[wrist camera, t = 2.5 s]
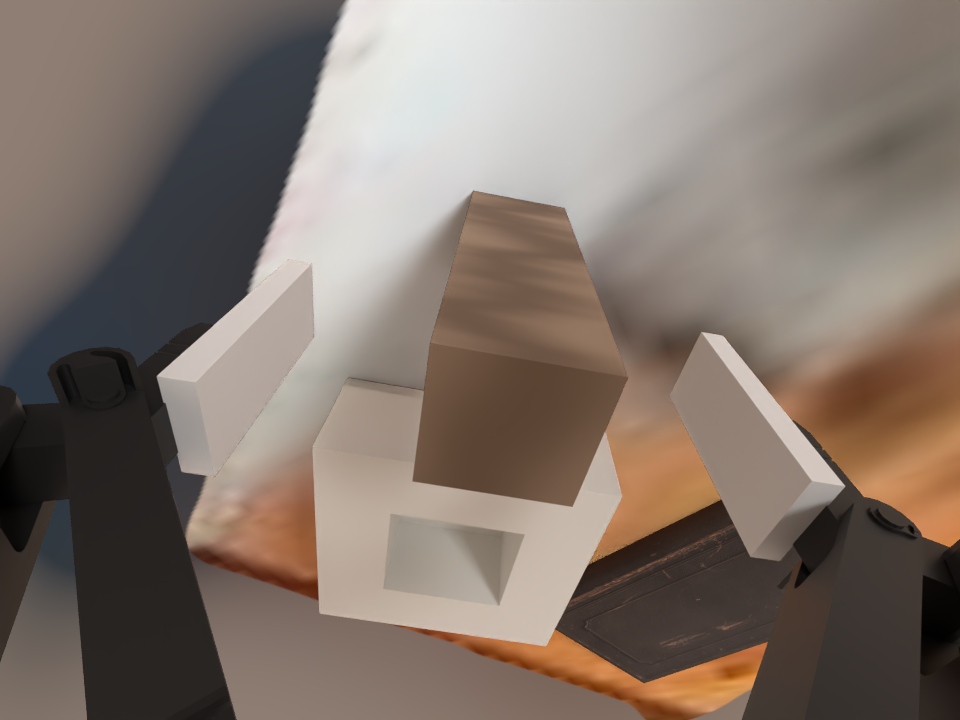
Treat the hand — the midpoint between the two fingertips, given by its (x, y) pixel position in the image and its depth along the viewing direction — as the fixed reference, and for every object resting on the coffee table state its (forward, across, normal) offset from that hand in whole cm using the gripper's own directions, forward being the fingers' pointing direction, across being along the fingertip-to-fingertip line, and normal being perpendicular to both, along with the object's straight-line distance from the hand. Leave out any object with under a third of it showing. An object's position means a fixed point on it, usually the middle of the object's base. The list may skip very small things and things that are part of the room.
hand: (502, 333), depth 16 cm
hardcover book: (+10, +21, -25) cm, 34 cm away
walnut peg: (+9, 0, 0) cm, 9 cm away
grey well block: (+9, 0, -18) cm, 20 cm away
